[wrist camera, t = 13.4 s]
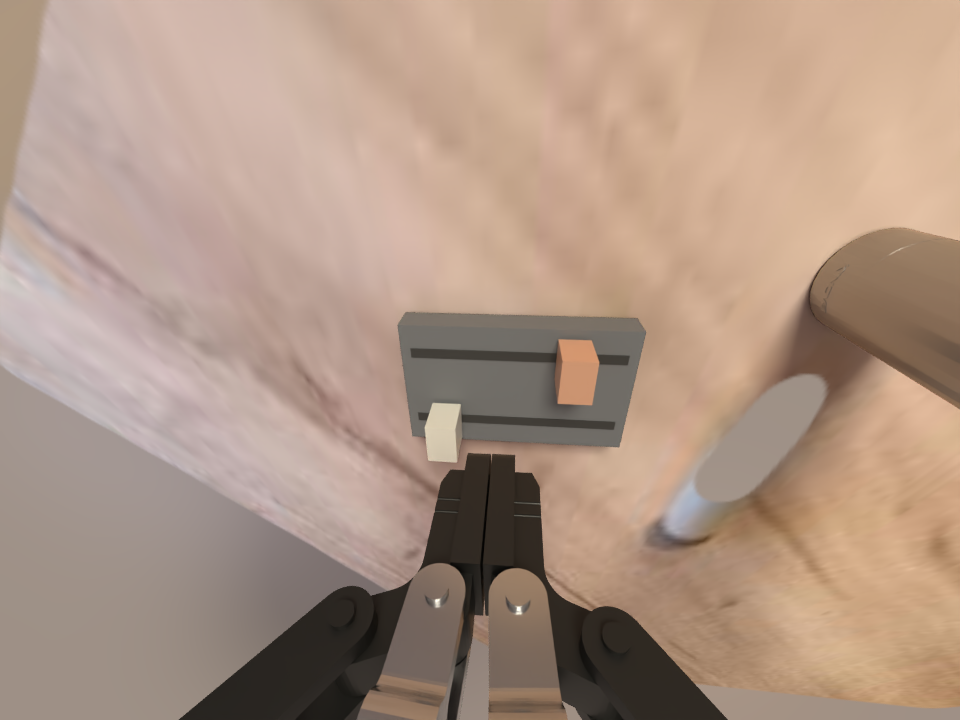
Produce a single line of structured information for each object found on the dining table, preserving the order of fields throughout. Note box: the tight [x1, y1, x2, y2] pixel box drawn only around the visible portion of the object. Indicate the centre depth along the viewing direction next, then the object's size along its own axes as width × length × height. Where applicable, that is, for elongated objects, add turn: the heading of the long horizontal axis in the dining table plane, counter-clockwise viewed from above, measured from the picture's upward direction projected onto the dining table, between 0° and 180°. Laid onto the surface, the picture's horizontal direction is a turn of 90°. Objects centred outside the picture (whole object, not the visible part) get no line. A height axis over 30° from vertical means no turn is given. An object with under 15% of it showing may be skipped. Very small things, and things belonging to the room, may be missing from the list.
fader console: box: [398, 312, 646, 447], centre depth 40 cm, size 23×14×3 cm, turn 91°
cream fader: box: [425, 403, 462, 463], centre depth 40 cm, size 3×4×4 cm
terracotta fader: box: [554, 339, 599, 405], centre depth 34 cm, size 3×4×4 cm
